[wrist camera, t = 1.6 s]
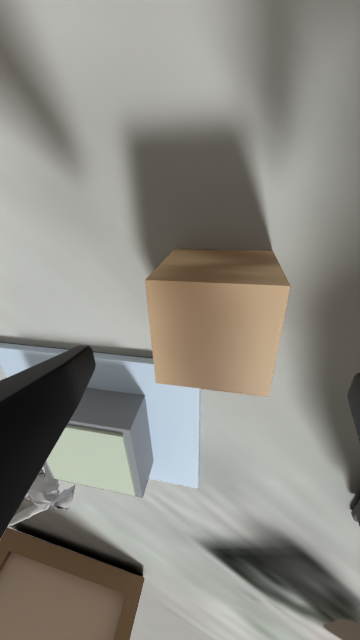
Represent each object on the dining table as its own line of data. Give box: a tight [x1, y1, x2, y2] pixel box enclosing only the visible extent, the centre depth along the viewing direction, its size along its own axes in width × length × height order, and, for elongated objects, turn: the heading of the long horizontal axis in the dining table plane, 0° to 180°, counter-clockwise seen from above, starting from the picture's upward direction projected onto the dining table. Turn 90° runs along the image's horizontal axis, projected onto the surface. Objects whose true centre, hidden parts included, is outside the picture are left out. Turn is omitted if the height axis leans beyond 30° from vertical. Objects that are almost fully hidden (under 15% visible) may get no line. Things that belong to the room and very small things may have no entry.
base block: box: [45, 388, 154, 498], centre depth 20 cm, size 8×8×3 cm
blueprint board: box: [0, 343, 200, 488], centre depth 21 cm, size 16×14×1 cm
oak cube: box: [145, 249, 290, 397], centre depth 12 cm, size 5×5×5 cm
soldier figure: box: [8, 464, 76, 526], centre depth 27 cm, size 8×5×12 cm
